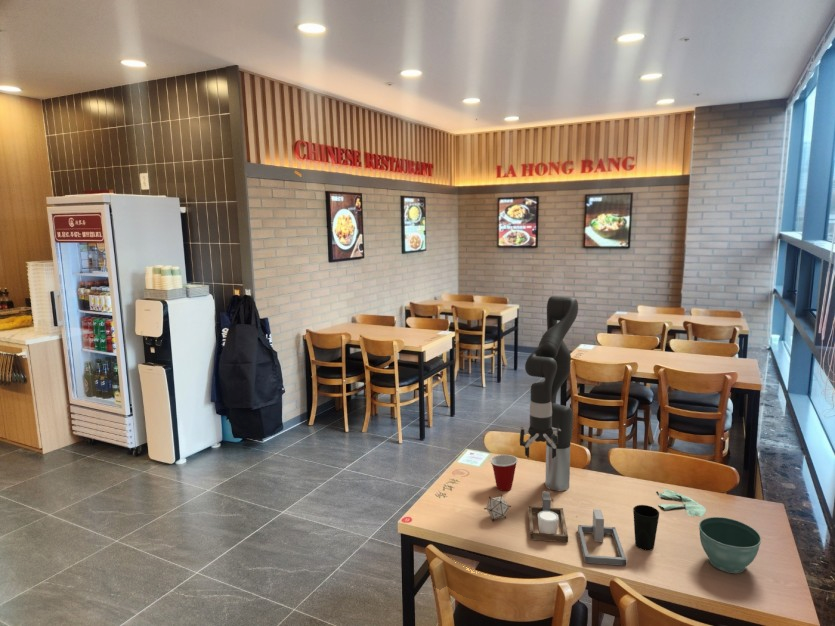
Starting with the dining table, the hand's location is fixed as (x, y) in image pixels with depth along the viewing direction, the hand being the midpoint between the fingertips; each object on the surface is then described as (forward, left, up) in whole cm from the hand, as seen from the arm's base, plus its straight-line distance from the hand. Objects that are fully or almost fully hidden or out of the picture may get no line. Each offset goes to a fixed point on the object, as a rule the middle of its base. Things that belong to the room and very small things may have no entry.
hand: (540, 457), depth 191 cm
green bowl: (+22, +54, -22) cm, 62 cm away
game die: (+4, -15, -22) cm, 27 cm away
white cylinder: (+12, +2, -22) cm, 25 cm away
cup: (+15, +32, -22) cm, 42 cm away
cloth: (-15, +49, -23) cm, 56 cm away
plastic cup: (-19, -13, -22) cm, 32 cm away
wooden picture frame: (+7, +2, -22) cm, 23 cm away
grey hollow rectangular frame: (+18, +18, -22) cm, 33 cm away
